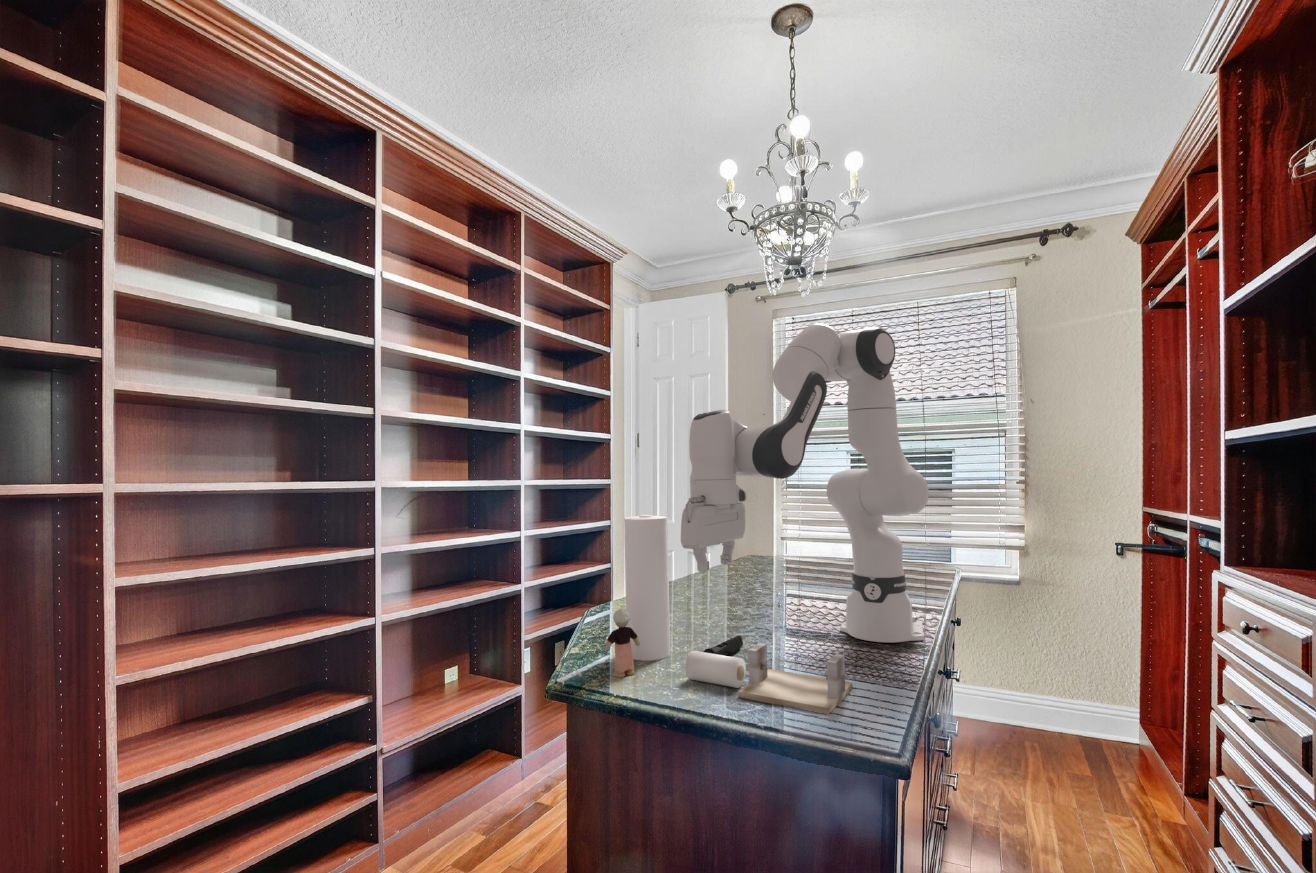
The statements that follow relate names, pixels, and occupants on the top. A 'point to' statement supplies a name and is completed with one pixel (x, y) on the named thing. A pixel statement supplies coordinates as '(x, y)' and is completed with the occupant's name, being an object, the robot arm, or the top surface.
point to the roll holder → (795, 684)
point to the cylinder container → (648, 585)
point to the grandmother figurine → (622, 644)
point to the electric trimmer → (726, 647)
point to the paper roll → (715, 669)
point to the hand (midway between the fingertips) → (715, 567)
